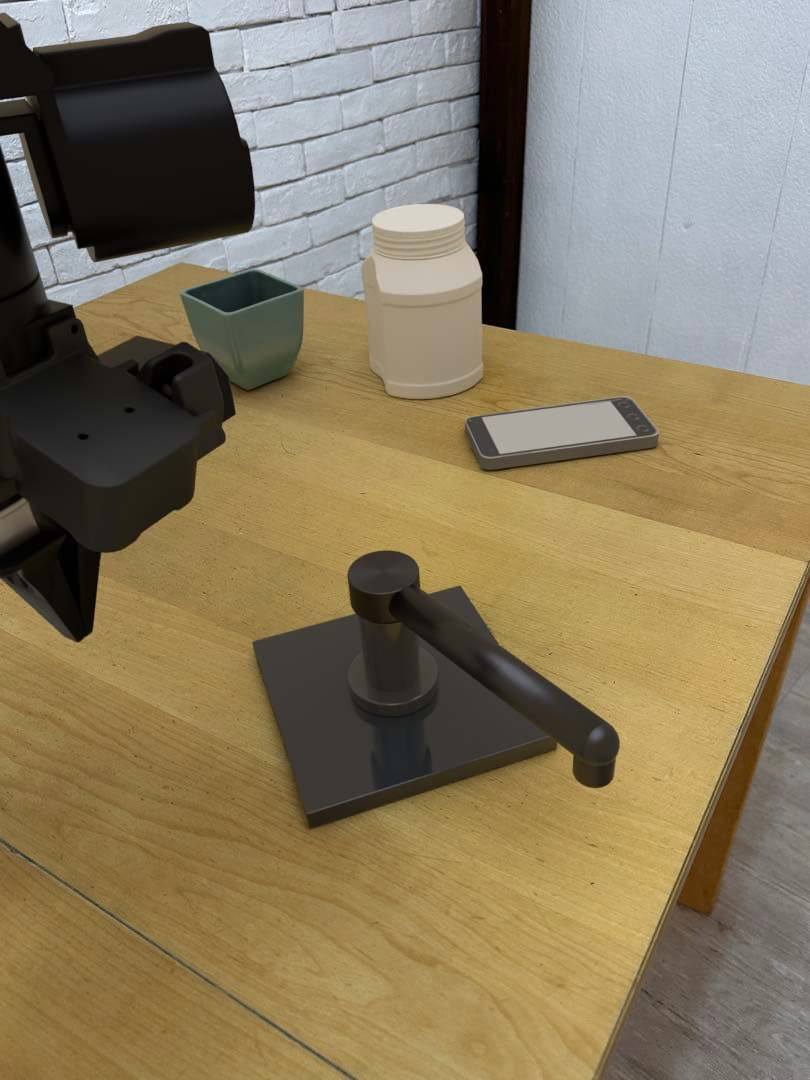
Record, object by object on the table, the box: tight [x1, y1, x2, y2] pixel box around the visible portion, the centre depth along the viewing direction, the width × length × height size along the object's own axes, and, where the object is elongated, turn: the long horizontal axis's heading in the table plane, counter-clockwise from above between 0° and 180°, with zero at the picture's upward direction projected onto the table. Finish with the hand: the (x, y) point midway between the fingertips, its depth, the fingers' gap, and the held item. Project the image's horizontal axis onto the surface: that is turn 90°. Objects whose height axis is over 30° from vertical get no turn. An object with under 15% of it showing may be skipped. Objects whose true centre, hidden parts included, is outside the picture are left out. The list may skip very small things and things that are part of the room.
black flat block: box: [251, 585, 558, 829], centre depth 51 cm, size 14×14×7 cm
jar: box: [360, 203, 484, 400], centre depth 84 cm, size 12×10×15 cm
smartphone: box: [464, 395, 660, 471], centre depth 76 cm, size 7×1×15 cm
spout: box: [346, 549, 621, 789], centre depth 44 cm, size 18×4×3 cm, turn 39°
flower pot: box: [178, 268, 305, 391], centre depth 88 cm, size 9×9×9 cm
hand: (78, 635), depth 39 cm, fingers closed
